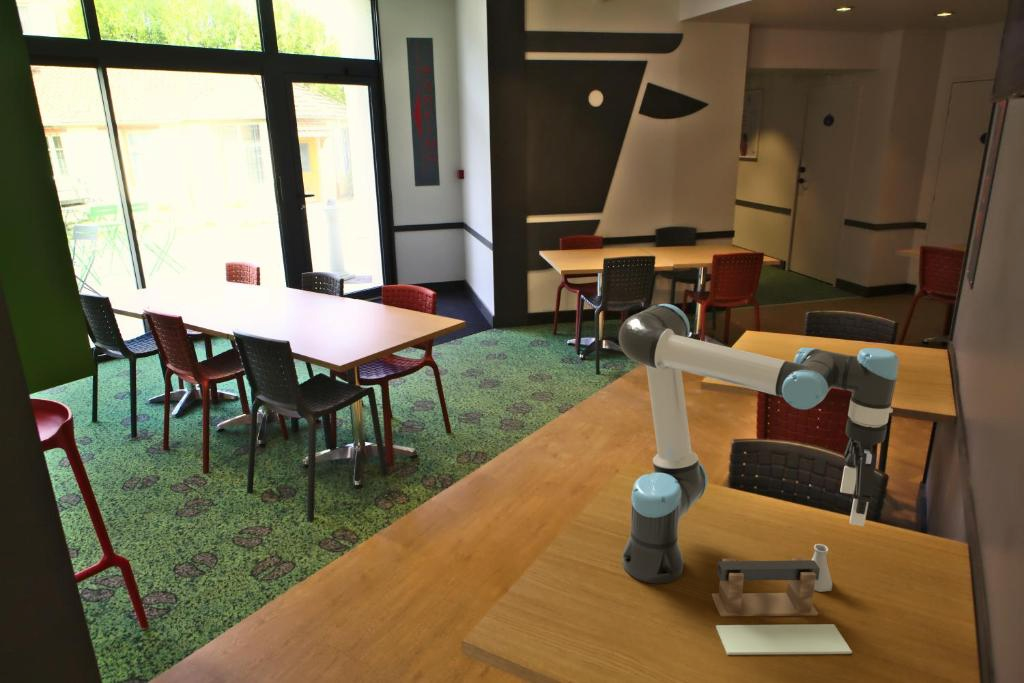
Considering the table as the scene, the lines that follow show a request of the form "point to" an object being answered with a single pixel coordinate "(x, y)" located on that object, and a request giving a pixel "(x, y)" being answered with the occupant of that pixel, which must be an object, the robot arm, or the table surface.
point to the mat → (782, 639)
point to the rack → (766, 597)
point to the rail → (767, 569)
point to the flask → (822, 569)
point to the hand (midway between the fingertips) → (851, 507)
